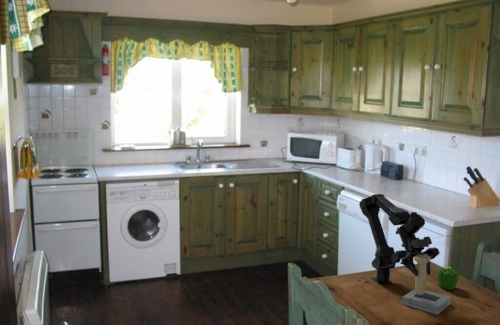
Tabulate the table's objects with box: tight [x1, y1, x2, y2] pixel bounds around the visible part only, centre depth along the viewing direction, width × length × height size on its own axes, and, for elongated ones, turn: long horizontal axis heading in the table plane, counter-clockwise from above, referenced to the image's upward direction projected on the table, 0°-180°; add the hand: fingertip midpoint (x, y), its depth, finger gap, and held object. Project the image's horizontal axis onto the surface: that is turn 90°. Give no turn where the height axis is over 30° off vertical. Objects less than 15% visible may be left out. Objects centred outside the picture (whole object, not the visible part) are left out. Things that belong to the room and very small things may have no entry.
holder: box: [402, 288, 452, 315], centre depth 200 cm, size 14×13×3 cm
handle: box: [413, 255, 432, 295], centre depth 196 cm, size 5×6×15 cm
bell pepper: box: [437, 265, 460, 291], centre depth 216 cm, size 8×8×10 cm
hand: (423, 275), depth 194 cm, fingers closed on handle, 5 cm apart
